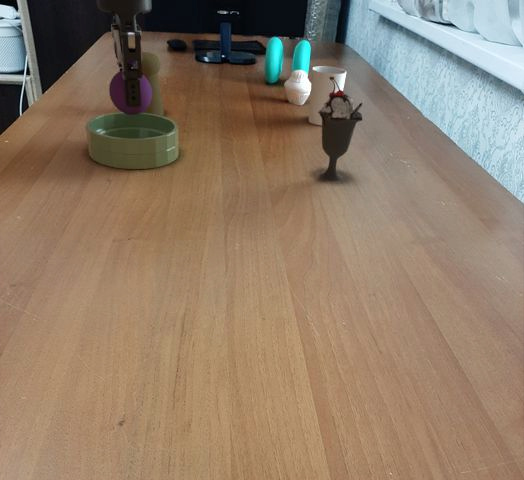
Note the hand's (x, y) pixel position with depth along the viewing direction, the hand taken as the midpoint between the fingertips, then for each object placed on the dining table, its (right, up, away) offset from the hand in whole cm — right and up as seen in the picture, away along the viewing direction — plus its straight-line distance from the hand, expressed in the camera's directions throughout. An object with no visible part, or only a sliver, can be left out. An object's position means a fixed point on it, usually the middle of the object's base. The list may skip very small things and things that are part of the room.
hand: (131, 99), depth 88 cm
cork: (-2, +7, +24) cm, 25 cm away
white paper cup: (+32, +7, +28) cm, 43 cm away
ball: (0, +1, -1) cm, 1 cm away
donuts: (+26, +26, +52) cm, 64 cm away
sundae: (+31, -11, +4) cm, 33 cm away
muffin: (+28, +16, +39) cm, 50 cm away
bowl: (-1, -7, +5) cm, 9 cm away
